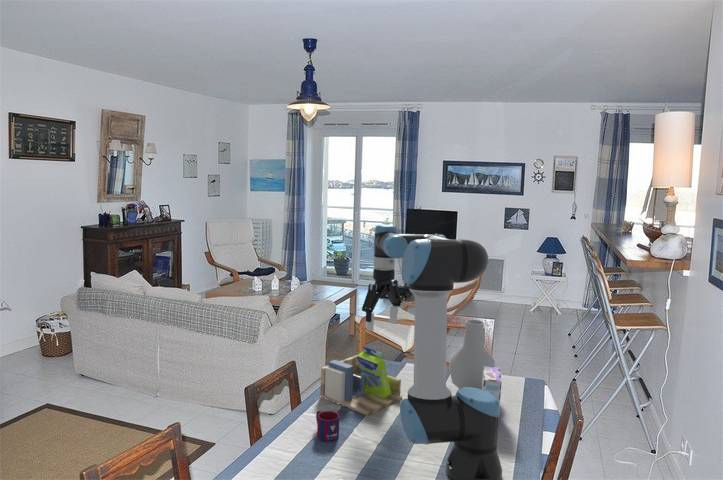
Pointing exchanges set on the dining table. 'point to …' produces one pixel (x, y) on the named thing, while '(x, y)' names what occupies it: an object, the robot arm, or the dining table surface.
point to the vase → (470, 357)
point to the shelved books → (339, 381)
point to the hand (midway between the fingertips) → (381, 326)
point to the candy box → (492, 381)
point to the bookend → (358, 386)
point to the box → (374, 372)
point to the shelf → (368, 401)
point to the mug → (327, 425)
